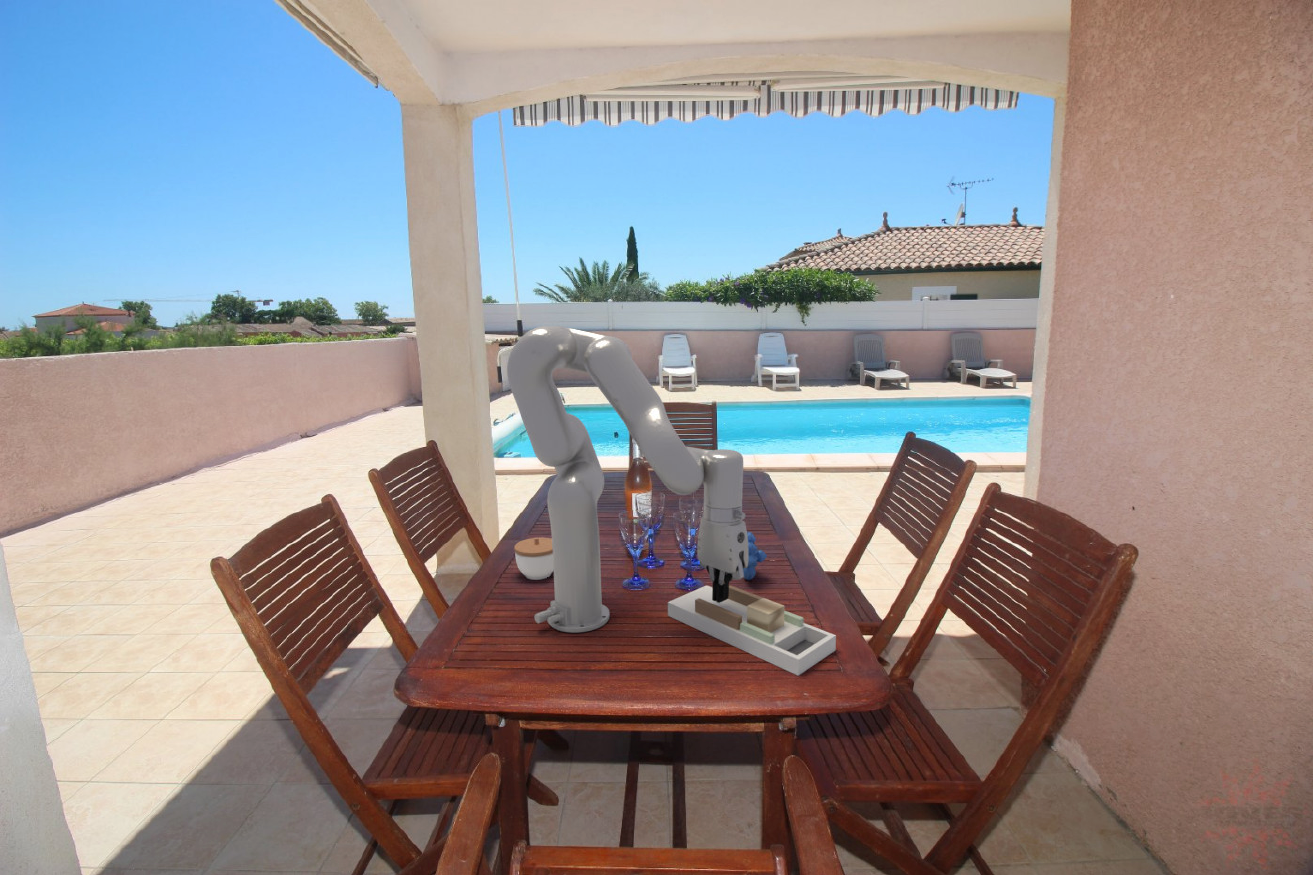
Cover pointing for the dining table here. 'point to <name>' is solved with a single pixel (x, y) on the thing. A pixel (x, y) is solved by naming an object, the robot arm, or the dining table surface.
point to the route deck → (753, 629)
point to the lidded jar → (535, 557)
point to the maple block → (766, 615)
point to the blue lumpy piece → (753, 557)
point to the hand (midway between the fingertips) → (720, 599)
